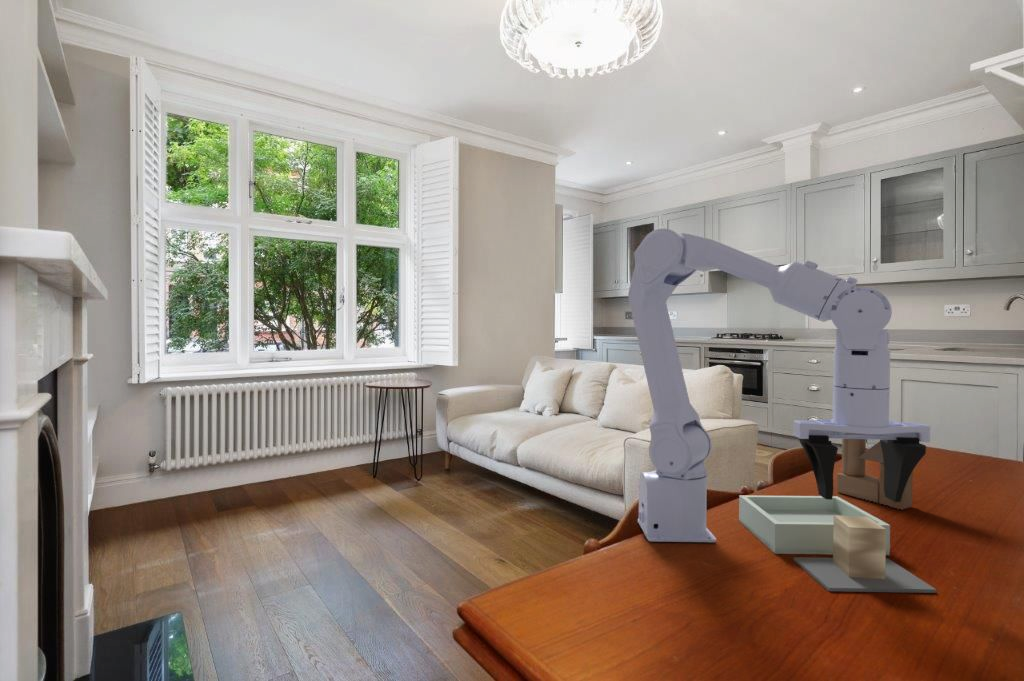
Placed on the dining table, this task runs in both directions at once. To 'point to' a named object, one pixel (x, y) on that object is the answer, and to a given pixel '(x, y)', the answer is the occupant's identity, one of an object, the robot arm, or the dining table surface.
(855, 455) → the wooden block structure
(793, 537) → the box
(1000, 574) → the dining table surface
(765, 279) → the robot arm
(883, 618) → the dining table surface
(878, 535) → the birch block
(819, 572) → the mat
